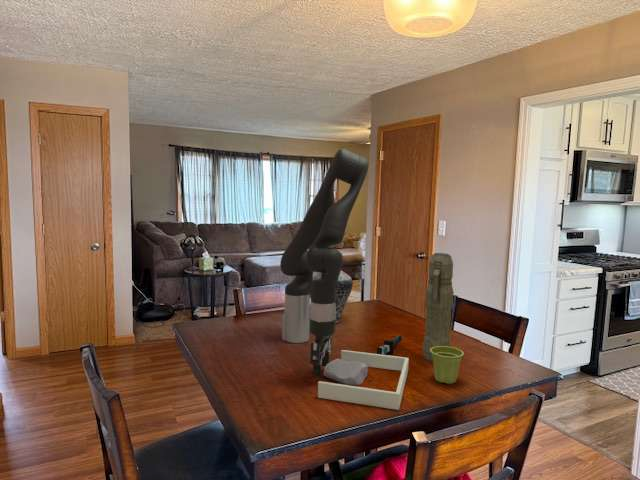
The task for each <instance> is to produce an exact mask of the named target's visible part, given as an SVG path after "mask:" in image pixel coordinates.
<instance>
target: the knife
mask: <svg viewBox="0 0 640 480" xmlns="http://www.w3.org/2000/svg"><path fill="white" fill-rule="evenodd" d="M402 339H403V335H402V334H398V335H397V336H395V338H390V340H384V341H383V345H382V346H377V349H376V354H380V355H387V354H388V355H393V354H394V348H395V347H396V346H397V345H398V344H400V342H401V341H402Z"/></svg>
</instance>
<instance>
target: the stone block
mask: <svg viewBox="0 0 640 480" xmlns="http://www.w3.org/2000/svg"><path fill="white" fill-rule="evenodd" d="M368 368H369V367H367V365H366V364H364V363H362V362H355V361H352V362H346V361H342V360H341V358H335V359H334V360H331V361H329V363H328V364H327V365H326V366H324V367H323V376H324V377H326V378H327V379H329V380H333V381H336V382H338V383H339V384H343V385H349V386H359V385H361V384H363V383H364V380H365V379H366V378H367V376H368V370H369V369H368Z"/></svg>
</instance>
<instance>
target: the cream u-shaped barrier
mask: <svg viewBox="0 0 640 480" xmlns="http://www.w3.org/2000/svg"><path fill="white" fill-rule="evenodd" d="M340 359H341V360H342V361H346V362H352V361H355V362H362V363H364V364H366V365H367V367H368V368H377V369H382V370H383V369H385V370H391V371H392V370H393V371H399V372H400V376H399V379H398V383H397V388H396V390H395V391H388V390H382V389H376V388H369V387H362V386H357V385H346V384H343V383H334V382H328V381H327V382H326V381H318V382H317V386H318V387H317V398H319V399H326V400H332V401H337V402H338V401H339V402H344V403H345V402H346V403H353V404H359V405H364V406H369V407H370V406H371V407H378V408H383V409H384V408H385V409H391V410H395V411H397V410H398V411H399V410H400V407H401V402H402V398H403V394H404V391H405V386H406V381H407V377H408V372H409V363H410V361H409V360H410V359H409V357H403V356H396V355H390V354H388V355H387V354H384V355H380V354H377V353H373V352H372V353H370V352H363V351H354V350H347V349H341V352H340Z"/></svg>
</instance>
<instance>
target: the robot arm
mask: <svg viewBox="0 0 640 480" xmlns="http://www.w3.org/2000/svg"><path fill="white" fill-rule="evenodd" d="M368 170H369V161H368V159H367V158H365V157H364V156H361V155H359V154H356V153H355V152H352V151H350V150H348V149H345V148H339V150H337V152H336V153H335V154H334V156H333V158H332V160H331V162H330V165H329V166H328V169H327V172H326V173H325V176H324V178H323V181H322V183H321V186H320V187H319V190H318V192H317V193H316V195H315V196H314V199H313V201H312V202H311V204H310V205H309V208H308V210H307V212H306V214H305V215H304V218H303V220H302V222H301V224H300V225H299V228H298V229H297V231H296V233H295V235H294V236H293V238H292V240H291V241H290V243H289V244H288V246H287V248H285V251H284V252H283V253H282V256H281V258H280V267H279V268H280V271H281V272H282V273H283V274H284V275H286V276H287V277H288V276H289V277H294V279H293V280H292V281H290V282H289V283H288V284H286V285H285V286H284V313H283V314H282V319H281V320H282V322H281V323H282V324H281V325H282V326H281V327H282V329H281V340H282V341H285V342H287V343H293V344H302V343H305V342H308V341H309V340H310V334H311V335H313V336H314V340H313V341H312V342H311V343H310V357H309V359H310V361H309V364H310V365H312V377H314V378H321V376H322V367H325V366H326V365H327V364H328V363H329V362H330V354H331V350H332V349H333V335H334V334H335V333H336V323H335V322H336V306H335V296H336V285H337V281H338V278H339V274H340V271H341V270H342V268H343V264H344V259H343V255H342V254H341V253H342V252H341V251H340V250H339V249H337V248H336V249H335V248H330V247H331V246H336V245H339V244H341V243H342V242H343V240H344V237H345V233H346V230H347V229H346V228H347V226H348V223H349V222H348V221H349V219H350V215H351V213H352V210H353V209H354V206H355V203H356V201H357V198H358V196H359V195H360V192H361V189H362V187H363V184H364V182H365V179H366V177H367V174H368ZM336 180H340V181H342V182H344V183H346V184H348V185H350V186H349V189H348V190H347V192H346V193H345V194H344V195H343V196H342V197H341V198H340V199H338V200H337V201H336V202H335V196H334V194H335V193H334V186H335V182H336ZM340 252H341V253H340ZM313 272H321V273H327V275H326V278H325V279H324V280H318V281H315V282H313V283H312V280H313ZM310 289H311V298H310Z"/></svg>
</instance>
